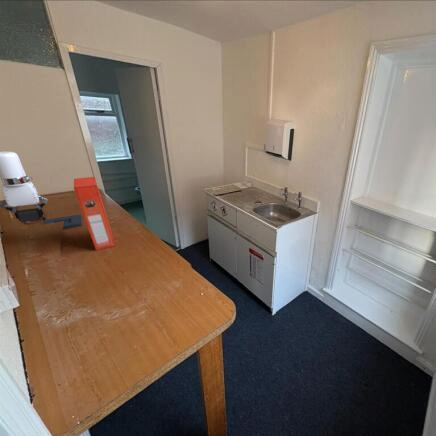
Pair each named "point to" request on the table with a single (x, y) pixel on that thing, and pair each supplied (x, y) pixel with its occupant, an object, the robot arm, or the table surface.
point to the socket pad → (67, 221)
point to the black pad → (28, 215)
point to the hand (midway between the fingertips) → (31, 217)
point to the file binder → (94, 212)
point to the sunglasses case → (38, 220)
